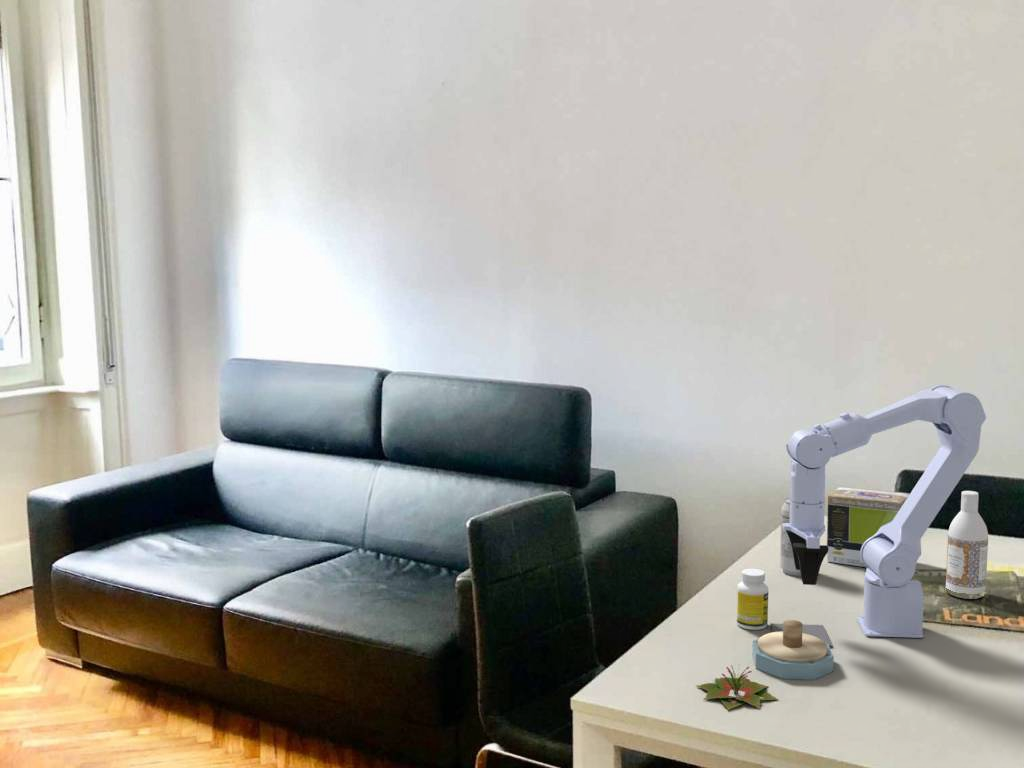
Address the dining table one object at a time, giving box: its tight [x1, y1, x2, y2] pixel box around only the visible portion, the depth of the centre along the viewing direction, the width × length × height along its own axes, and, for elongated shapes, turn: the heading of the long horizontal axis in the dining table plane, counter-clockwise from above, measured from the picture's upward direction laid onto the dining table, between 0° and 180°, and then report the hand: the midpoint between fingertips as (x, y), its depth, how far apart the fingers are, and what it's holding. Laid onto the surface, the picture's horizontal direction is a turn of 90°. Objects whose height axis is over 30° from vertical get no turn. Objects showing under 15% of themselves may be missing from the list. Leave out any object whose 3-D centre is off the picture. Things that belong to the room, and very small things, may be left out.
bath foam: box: [945, 490, 989, 594], centre depth 191 cm, size 7×7×20 cm
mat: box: [770, 623, 833, 649], centre depth 174 cm, size 9×9×1 cm
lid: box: [758, 619, 827, 662], centre depth 163 cm, size 11×11×4 cm
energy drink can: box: [779, 497, 801, 577], centre depth 206 cm, size 6×6×15 cm
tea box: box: [826, 486, 911, 568], centre depth 212 cm, size 15×10×15 cm, turn 58°
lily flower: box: [695, 663, 780, 711], centre depth 153 cm, size 12×12×5 cm
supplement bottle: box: [736, 568, 769, 631], centre depth 179 cm, size 5×5×10 cm
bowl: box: [752, 638, 835, 681], centre depth 163 cm, size 12×12×2 cm
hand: (805, 576), depth 175 cm, fingers open, 7 cm apart
